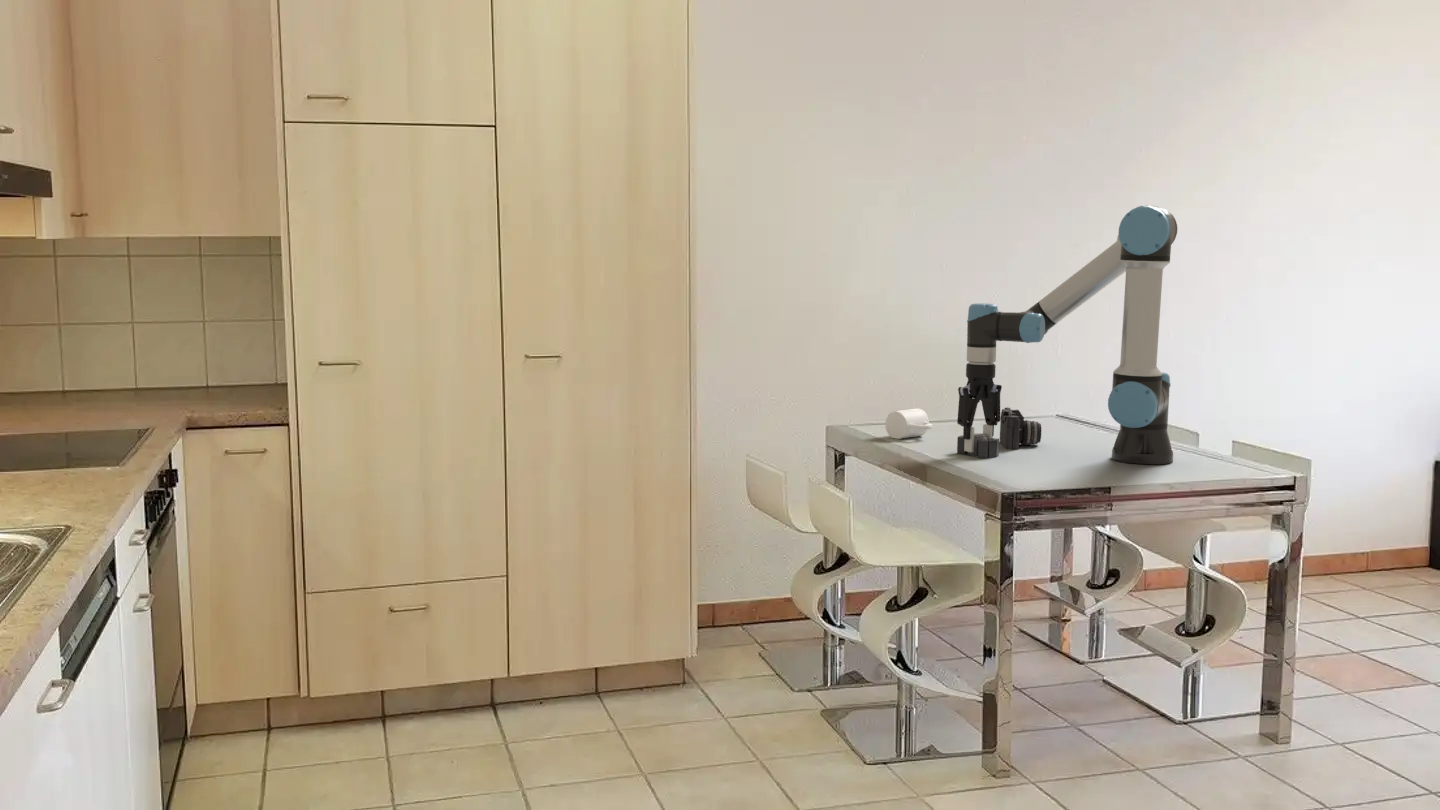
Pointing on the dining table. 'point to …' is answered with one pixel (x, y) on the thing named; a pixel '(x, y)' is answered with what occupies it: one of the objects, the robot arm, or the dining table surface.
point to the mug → (907, 423)
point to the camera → (1018, 430)
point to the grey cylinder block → (976, 437)
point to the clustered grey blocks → (981, 447)
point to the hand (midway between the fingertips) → (978, 450)
